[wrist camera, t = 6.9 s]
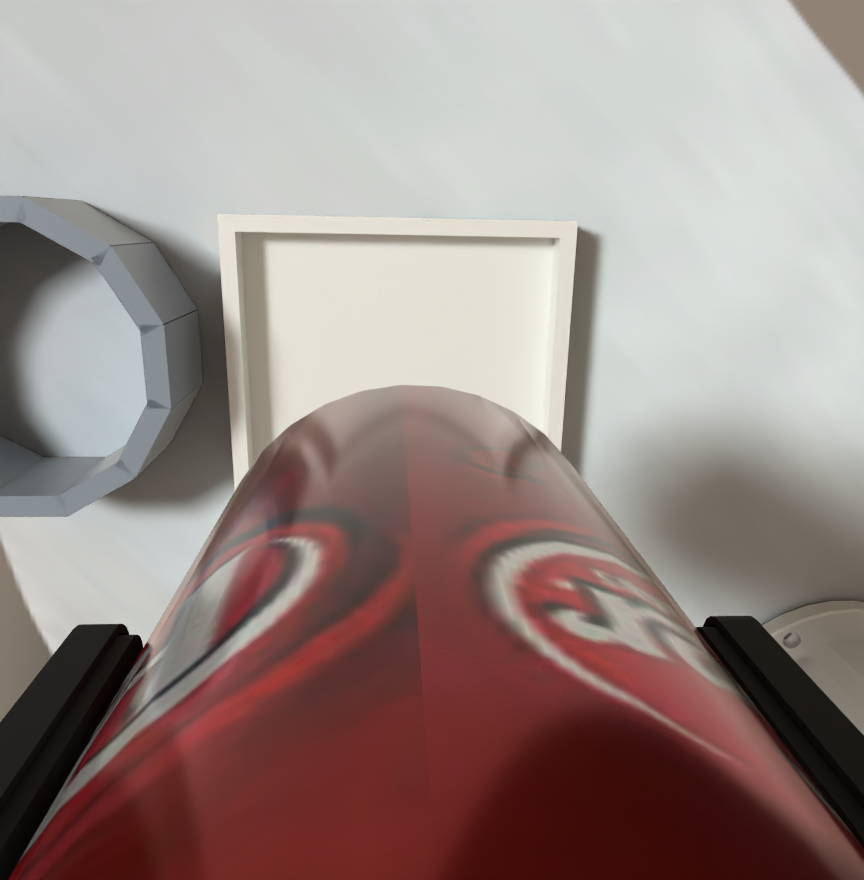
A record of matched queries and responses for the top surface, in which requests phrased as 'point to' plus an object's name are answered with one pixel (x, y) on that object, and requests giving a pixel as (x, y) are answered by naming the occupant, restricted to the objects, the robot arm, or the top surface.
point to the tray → (391, 315)
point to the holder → (163, 347)
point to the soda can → (430, 686)
